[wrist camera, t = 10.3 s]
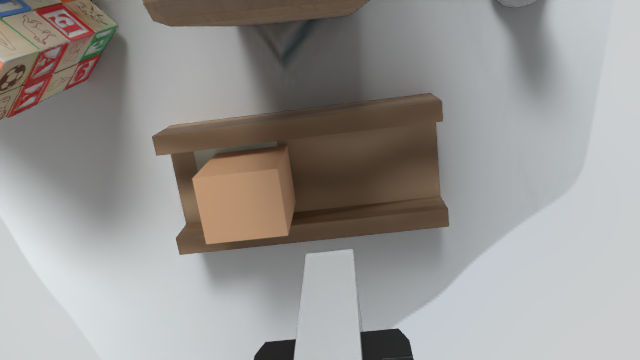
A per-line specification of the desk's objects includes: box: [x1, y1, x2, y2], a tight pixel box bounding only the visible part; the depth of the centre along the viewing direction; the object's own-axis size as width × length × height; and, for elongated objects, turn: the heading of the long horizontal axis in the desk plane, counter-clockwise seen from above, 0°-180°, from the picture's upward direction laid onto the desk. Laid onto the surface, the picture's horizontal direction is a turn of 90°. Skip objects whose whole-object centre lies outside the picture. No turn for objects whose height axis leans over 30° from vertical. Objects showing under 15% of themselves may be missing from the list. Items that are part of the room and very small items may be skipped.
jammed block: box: [192, 145, 296, 244], centre depth 38 cm, size 5×6×7 cm
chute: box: [152, 93, 449, 255], centre depth 41 cm, size 10×22×4 cm, turn 97°
